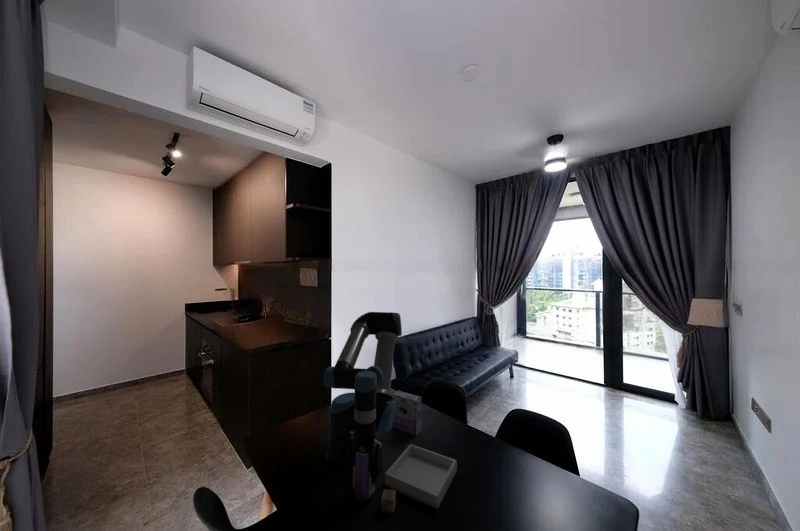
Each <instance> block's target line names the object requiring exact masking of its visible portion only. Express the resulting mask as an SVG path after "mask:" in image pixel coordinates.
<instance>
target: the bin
mask: <svg viewBox="0 0 800 531" xmlns="http://www.w3.org/2000/svg"><path fill="white" fill-rule="evenodd" d="M457 472H458V459H454V458H452V457H449V456H446V455H443V454H440V453H438V452H435V451H432V450H429V449H426V448H423V447H421V446H418V445H415V444H412V443H410V444H409V445H408V446H407V447H406V449H405V450H404V451H402V453H401V454H400V455H399V456H398V457H397V459H396V460H395V461H394V463H393V464H392V465H391V466H390V467H389V468H388V469H387V470H386V472H385V473H384V486H386V487H387V488H390V489H391V490H396V492H399V493H400V494H403V495H404V496H407V497H409V498H411V499H414V500H416V501H417V502H420V503H422V504H424V505H427V506H429V507H430V508H433V509H435V510H437V511H438V509H439V507H440V505H441V503H442V501H443V500H444V498H445V496H446V493H447V492H448V489H449V488H450V485H451V484H452V482H453V479H454V478H455V476H456V473H457Z"/></svg>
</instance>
